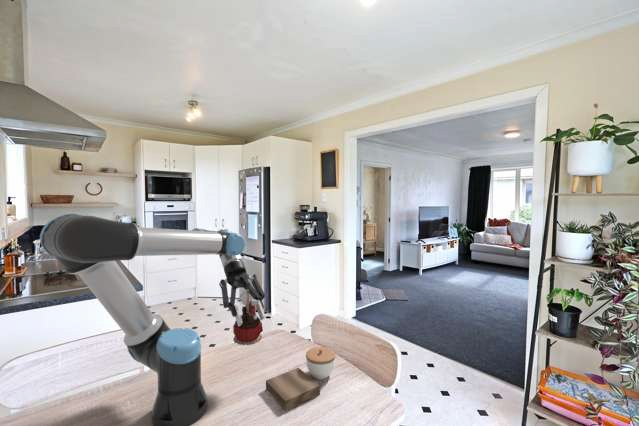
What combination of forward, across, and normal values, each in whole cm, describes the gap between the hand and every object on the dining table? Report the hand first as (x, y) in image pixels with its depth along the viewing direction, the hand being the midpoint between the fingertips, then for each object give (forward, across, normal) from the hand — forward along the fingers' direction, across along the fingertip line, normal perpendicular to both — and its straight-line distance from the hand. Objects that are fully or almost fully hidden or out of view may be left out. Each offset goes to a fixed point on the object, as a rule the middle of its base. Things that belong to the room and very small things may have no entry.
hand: (252, 321), depth 102 cm
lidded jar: (+23, -23, -9) cm, 33 cm away
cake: (+3, 0, -8) cm, 9 cm away
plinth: (+24, -9, -7) cm, 27 cm away
